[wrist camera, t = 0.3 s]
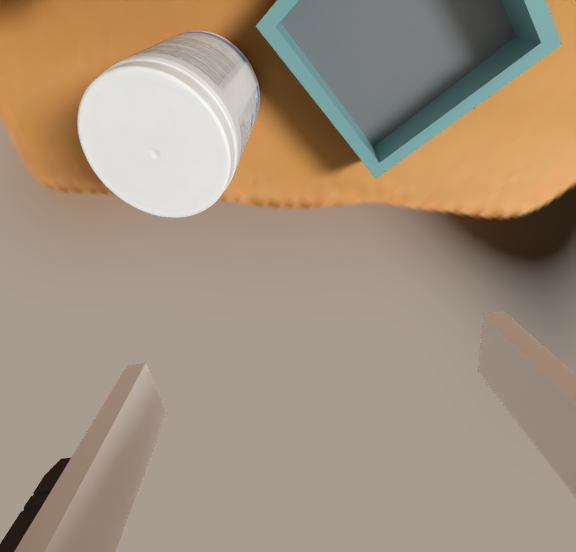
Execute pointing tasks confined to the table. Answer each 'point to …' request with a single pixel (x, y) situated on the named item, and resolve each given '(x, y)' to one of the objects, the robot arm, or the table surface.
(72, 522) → the robot arm
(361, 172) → the table surface
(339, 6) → the open square box
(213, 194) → the supplement tub
